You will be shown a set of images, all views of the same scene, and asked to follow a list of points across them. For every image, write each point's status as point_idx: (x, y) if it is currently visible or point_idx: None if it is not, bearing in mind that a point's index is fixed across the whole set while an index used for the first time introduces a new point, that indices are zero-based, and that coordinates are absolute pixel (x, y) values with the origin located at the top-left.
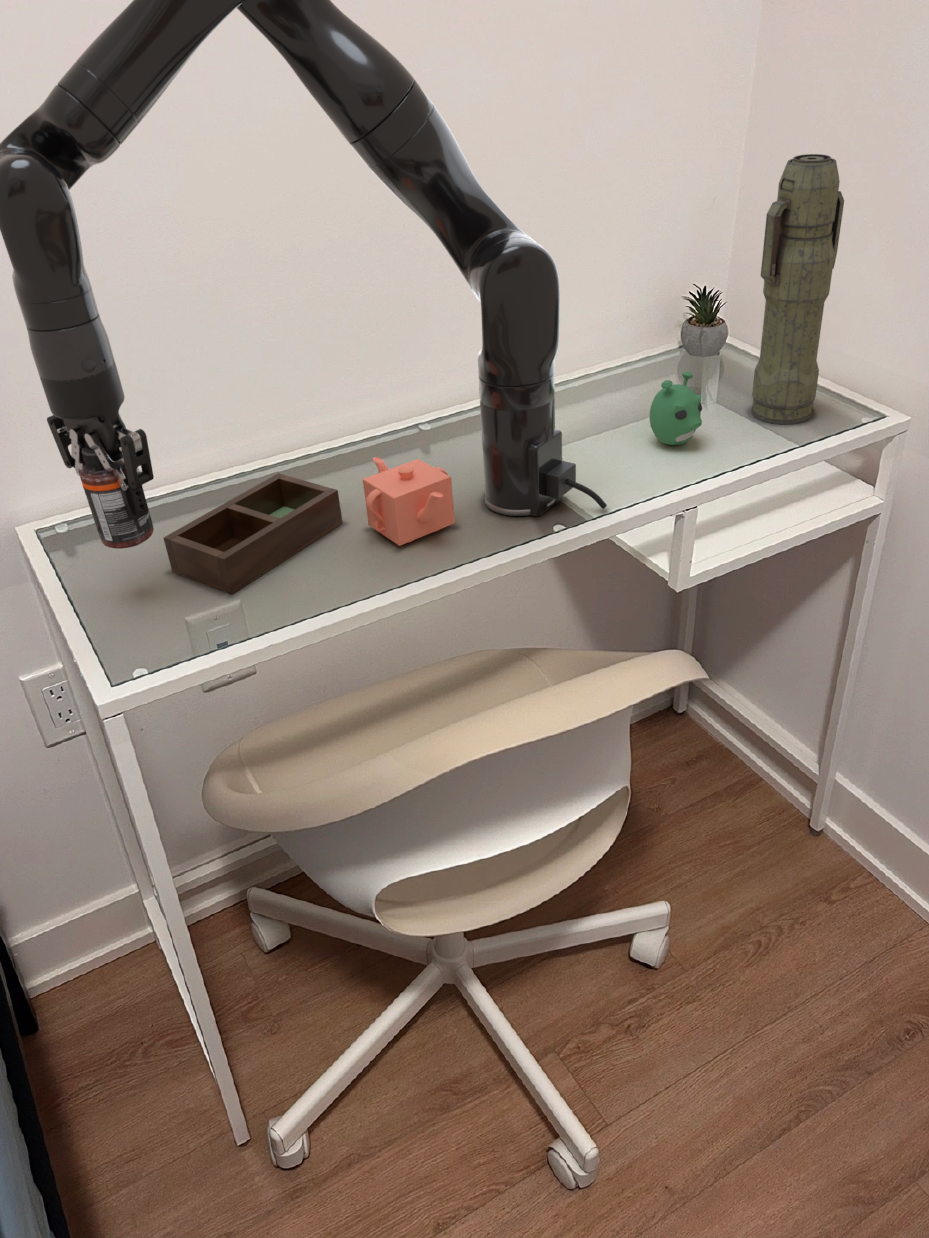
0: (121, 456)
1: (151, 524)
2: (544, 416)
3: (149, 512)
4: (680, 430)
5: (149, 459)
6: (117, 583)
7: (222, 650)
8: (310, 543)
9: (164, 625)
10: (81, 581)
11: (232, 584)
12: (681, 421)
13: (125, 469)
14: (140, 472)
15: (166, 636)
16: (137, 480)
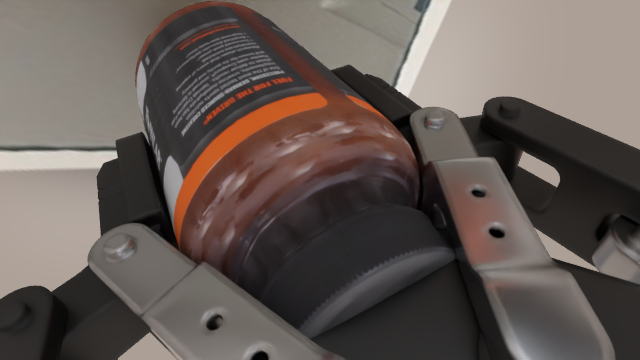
0: (393, 203)
1: (278, 27)
2: None
3: (270, 24)
4: None
5: (608, 142)
6: (81, 50)
7: (429, 10)
8: None
9: (311, 46)
10: (8, 112)
11: None
12: None
13: (419, 182)
14: (513, 152)
15: (338, 57)
16: (518, 170)
